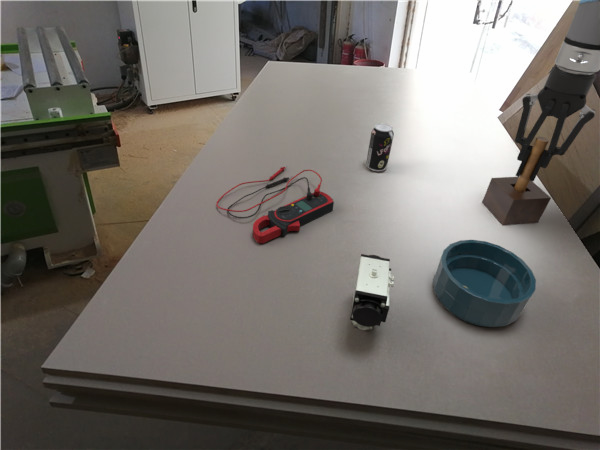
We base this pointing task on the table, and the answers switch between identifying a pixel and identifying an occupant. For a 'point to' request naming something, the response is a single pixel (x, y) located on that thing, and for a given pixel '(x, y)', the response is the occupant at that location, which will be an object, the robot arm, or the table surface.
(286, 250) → the table surface
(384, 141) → the beverage can
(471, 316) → the bowl
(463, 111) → the table surface
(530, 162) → the stirring stick
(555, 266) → the table surface
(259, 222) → the digital clamp meter
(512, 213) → the holder
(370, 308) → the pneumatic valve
